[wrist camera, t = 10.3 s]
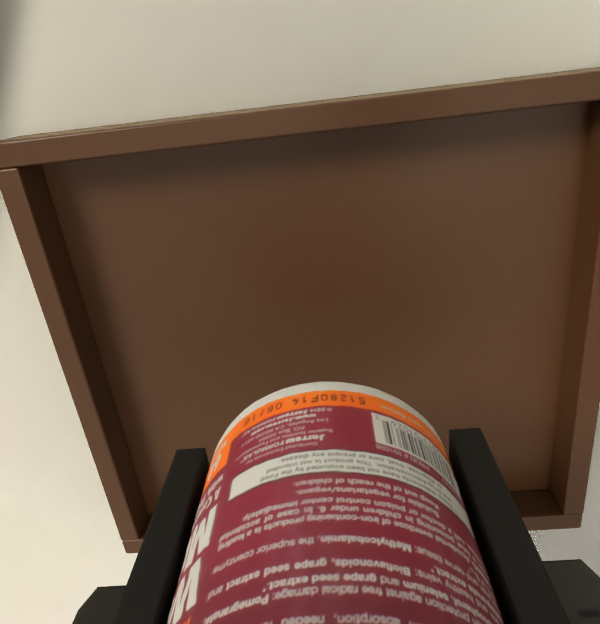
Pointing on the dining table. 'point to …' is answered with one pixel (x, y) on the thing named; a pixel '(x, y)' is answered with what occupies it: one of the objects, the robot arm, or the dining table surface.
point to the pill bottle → (332, 519)
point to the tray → (328, 273)
